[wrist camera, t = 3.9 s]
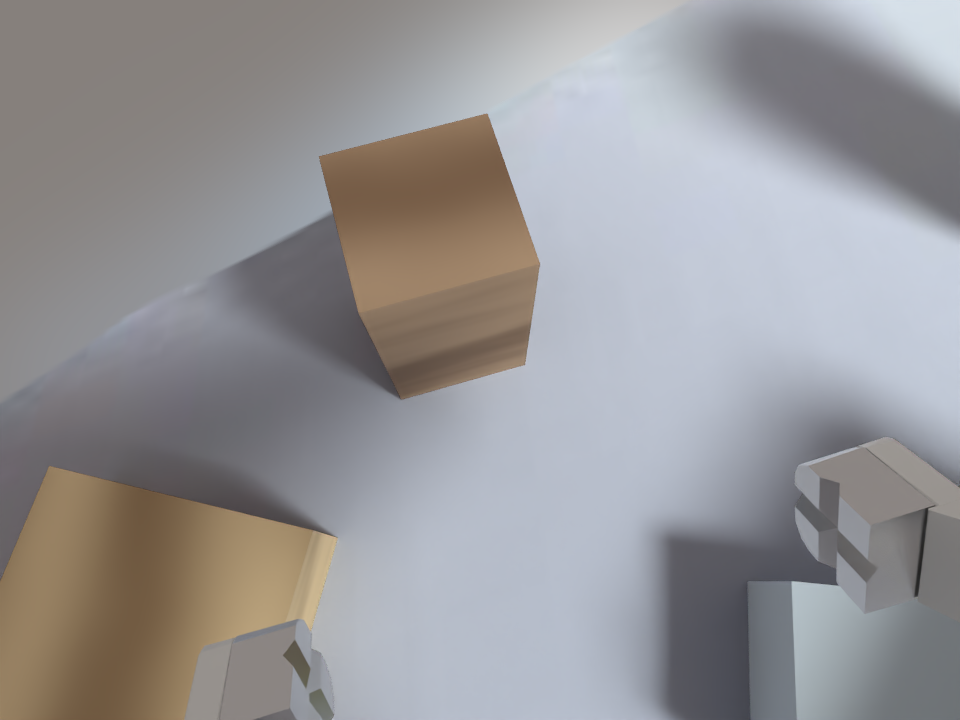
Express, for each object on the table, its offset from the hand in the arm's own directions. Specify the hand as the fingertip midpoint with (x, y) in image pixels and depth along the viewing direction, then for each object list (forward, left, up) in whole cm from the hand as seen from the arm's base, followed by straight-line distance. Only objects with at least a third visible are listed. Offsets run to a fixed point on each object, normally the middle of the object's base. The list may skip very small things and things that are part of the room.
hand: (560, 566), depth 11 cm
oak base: (+11, +6, -15) cm, 19 cm away
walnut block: (+6, -8, -14) cm, 18 cm away
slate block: (-11, 0, -15) cm, 18 cm away
